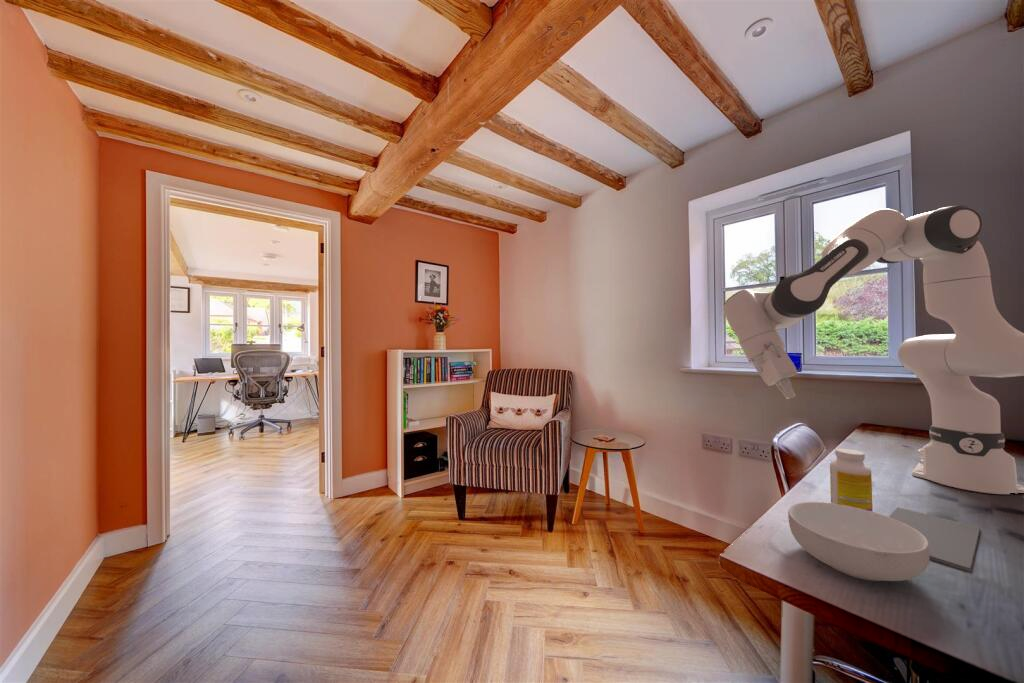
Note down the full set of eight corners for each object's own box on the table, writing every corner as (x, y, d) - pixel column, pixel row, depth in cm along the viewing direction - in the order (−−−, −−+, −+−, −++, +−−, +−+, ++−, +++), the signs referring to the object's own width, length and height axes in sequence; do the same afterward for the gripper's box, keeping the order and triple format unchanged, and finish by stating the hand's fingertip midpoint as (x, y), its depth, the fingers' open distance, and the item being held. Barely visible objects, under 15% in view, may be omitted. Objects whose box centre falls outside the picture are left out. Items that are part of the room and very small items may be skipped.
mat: (897, 509, 78) (897, 507, 78) (979, 530, 69) (979, 527, 69) (873, 541, 66) (873, 538, 66) (970, 571, 57) (970, 568, 57)
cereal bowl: (790, 529, 71) (789, 493, 71) (916, 560, 60) (914, 518, 60) (786, 571, 57) (786, 526, 58) (946, 621, 47) (945, 566, 47)
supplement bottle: (881, 518, 75) (879, 456, 75) (844, 516, 76) (843, 455, 76) (857, 504, 81) (856, 447, 81) (823, 502, 82) (822, 446, 83)
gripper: (785, 334, 84) (818, 390, 79) (770, 350, 102) (796, 396, 97) (755, 344, 86) (786, 399, 81) (746, 358, 104) (770, 404, 99)
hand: (791, 398), depth 89 cm, fingers closed
